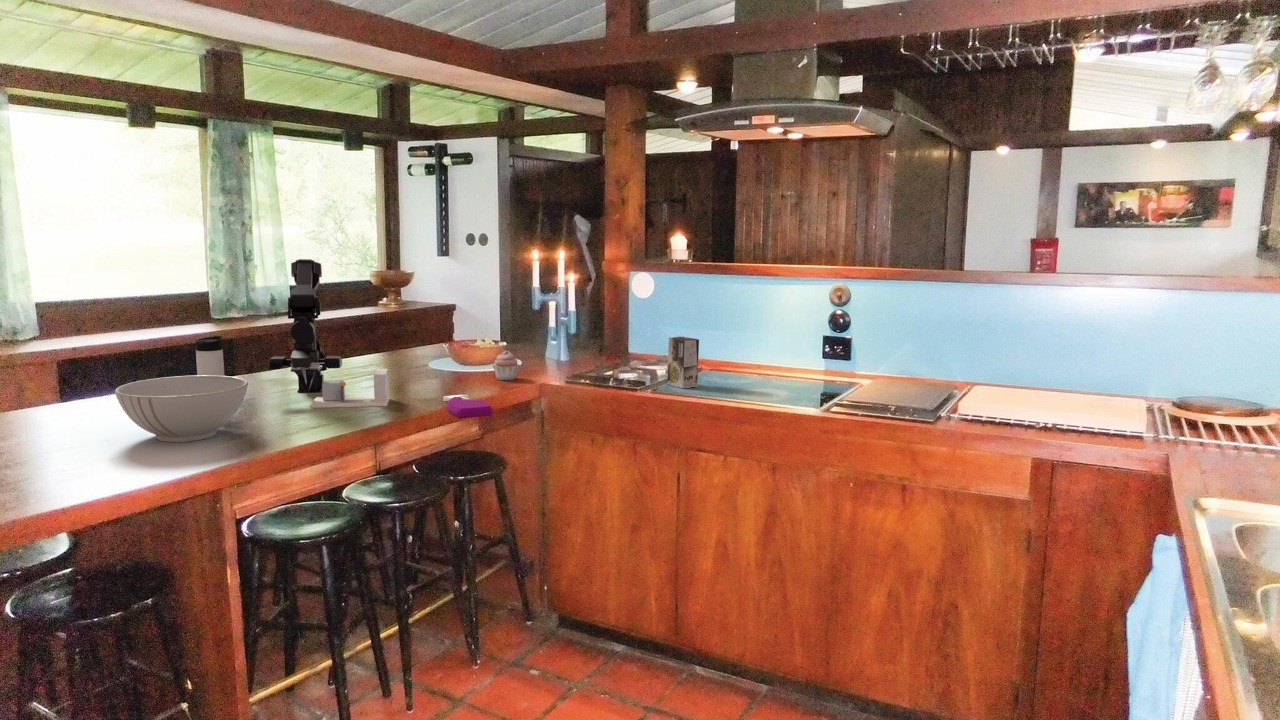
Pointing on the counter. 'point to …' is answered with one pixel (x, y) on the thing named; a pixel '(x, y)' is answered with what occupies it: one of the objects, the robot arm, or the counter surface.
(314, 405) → the base
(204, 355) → the travel mug
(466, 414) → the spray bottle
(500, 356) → the cupcake
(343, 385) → the drag needle
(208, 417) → the decorative bowl
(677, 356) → the coffee box
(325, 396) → the block
